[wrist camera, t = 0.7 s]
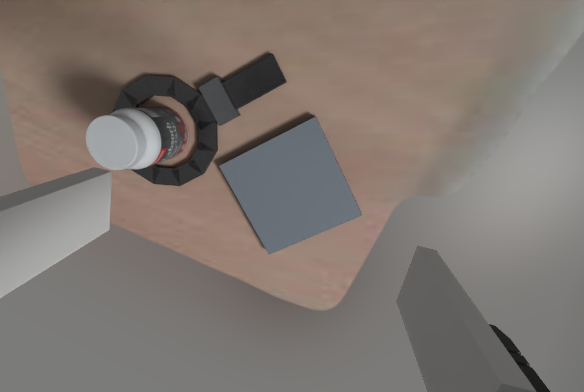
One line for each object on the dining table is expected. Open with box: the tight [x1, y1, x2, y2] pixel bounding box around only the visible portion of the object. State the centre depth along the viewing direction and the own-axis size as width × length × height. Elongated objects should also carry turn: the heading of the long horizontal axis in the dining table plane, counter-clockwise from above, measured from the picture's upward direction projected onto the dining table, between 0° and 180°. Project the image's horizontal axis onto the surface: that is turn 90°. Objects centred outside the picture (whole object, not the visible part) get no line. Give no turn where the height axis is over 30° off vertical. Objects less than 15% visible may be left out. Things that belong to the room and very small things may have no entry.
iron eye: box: [112, 54, 287, 186], centre depth 35 cm, size 12×21×1 cm, turn 117°
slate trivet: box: [219, 116, 362, 254], centre depth 37 cm, size 12×12×1 cm
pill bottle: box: [86, 107, 189, 170], centre depth 32 cm, size 6×6×10 cm
